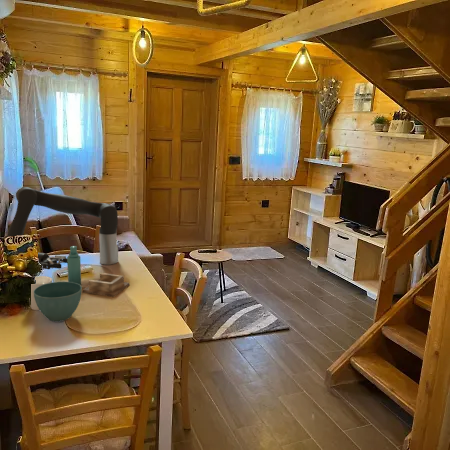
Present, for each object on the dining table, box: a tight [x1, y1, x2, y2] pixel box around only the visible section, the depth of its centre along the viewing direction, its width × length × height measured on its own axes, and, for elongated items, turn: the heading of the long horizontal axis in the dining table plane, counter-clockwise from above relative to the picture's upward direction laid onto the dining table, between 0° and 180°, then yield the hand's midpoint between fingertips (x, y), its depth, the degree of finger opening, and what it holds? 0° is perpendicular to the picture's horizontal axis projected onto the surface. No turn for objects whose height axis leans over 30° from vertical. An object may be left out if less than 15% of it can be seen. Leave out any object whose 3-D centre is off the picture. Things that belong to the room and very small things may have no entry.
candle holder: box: [29, 275, 53, 311], centre depth 195 cm, size 10×10×12 cm
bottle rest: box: [82, 272, 130, 298], centre depth 219 cm, size 16×16×5 cm
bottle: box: [66, 245, 82, 286], centre depth 221 cm, size 6×6×19 cm
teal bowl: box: [34, 281, 83, 323], centre depth 185 cm, size 18×18×12 cm
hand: (66, 263), depth 222 cm, fingers open, 8 cm apart
